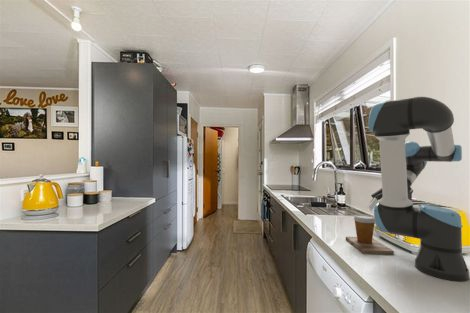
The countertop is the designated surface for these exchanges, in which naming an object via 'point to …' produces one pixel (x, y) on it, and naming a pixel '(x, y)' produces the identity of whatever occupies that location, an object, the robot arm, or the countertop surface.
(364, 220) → the disposable coffee cup
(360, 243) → the walnut board
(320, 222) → the countertop surface
